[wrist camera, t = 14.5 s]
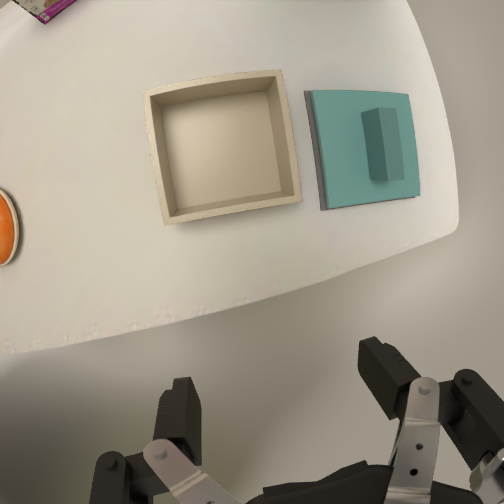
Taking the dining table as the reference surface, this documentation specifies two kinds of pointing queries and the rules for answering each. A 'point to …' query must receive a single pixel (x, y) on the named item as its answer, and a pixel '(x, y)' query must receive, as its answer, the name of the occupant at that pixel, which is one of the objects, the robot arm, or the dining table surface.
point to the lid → (366, 146)
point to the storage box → (221, 145)
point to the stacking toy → (7, 229)
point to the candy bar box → (44, 8)
